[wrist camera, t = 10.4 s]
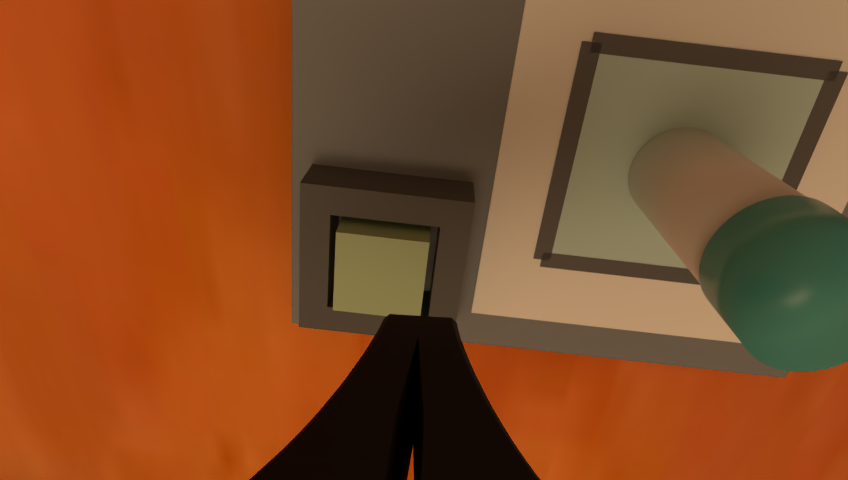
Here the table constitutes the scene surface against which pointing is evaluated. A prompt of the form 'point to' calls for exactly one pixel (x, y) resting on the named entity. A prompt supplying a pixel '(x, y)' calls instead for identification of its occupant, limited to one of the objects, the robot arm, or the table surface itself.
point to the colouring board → (551, 154)
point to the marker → (750, 247)
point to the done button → (380, 267)
